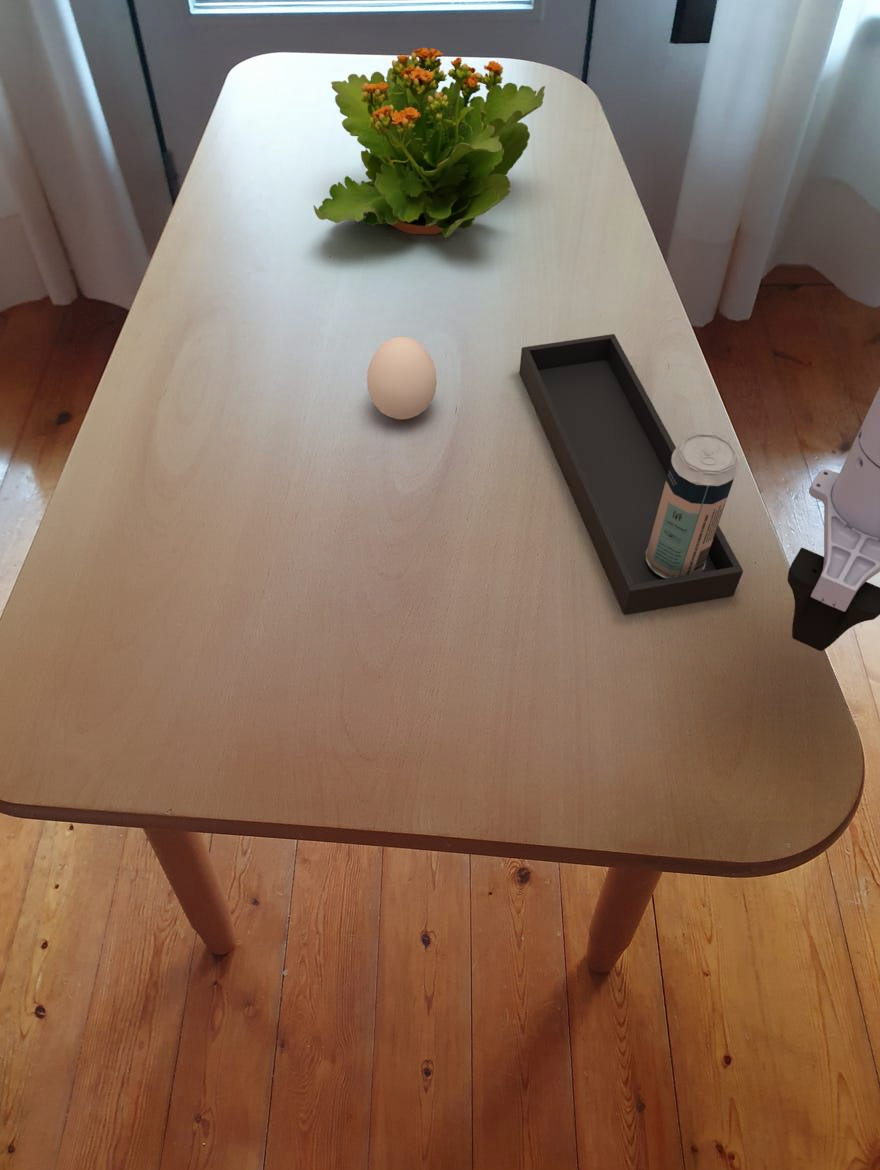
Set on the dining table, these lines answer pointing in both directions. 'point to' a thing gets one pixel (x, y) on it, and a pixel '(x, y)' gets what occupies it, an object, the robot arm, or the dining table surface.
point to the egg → (401, 378)
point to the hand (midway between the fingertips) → (830, 602)
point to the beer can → (691, 505)
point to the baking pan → (616, 467)
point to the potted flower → (429, 144)
